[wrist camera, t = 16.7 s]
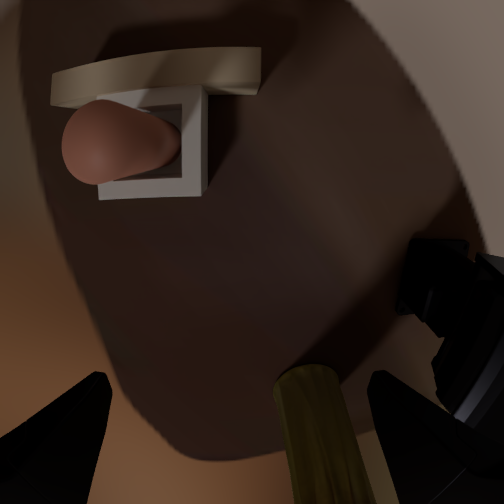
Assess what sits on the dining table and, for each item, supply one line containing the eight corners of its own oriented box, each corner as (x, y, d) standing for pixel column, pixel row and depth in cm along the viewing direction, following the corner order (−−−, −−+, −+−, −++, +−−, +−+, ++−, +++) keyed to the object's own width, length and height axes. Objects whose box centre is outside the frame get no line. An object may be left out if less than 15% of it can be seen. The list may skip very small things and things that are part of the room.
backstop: (256, 66, 16) (261, 47, 13) (256, 94, 17) (260, 82, 13) (82, 82, 16) (52, 74, 12) (81, 109, 17) (50, 105, 13)
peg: (183, 119, 17) (137, 94, 8) (182, 166, 18) (135, 182, 9) (137, 122, 17) (62, 106, 8) (137, 168, 18) (63, 187, 9)
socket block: (208, 95, 17) (201, 84, 14) (207, 186, 19) (201, 195, 16) (119, 102, 17) (96, 96, 13) (120, 190, 19) (99, 200, 15)
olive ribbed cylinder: (272, 410, 26) (288, 543, 13) (272, 365, 24) (295, 523, 11) (333, 403, 27) (371, 526, 13) (342, 358, 24) (399, 499, 11)
